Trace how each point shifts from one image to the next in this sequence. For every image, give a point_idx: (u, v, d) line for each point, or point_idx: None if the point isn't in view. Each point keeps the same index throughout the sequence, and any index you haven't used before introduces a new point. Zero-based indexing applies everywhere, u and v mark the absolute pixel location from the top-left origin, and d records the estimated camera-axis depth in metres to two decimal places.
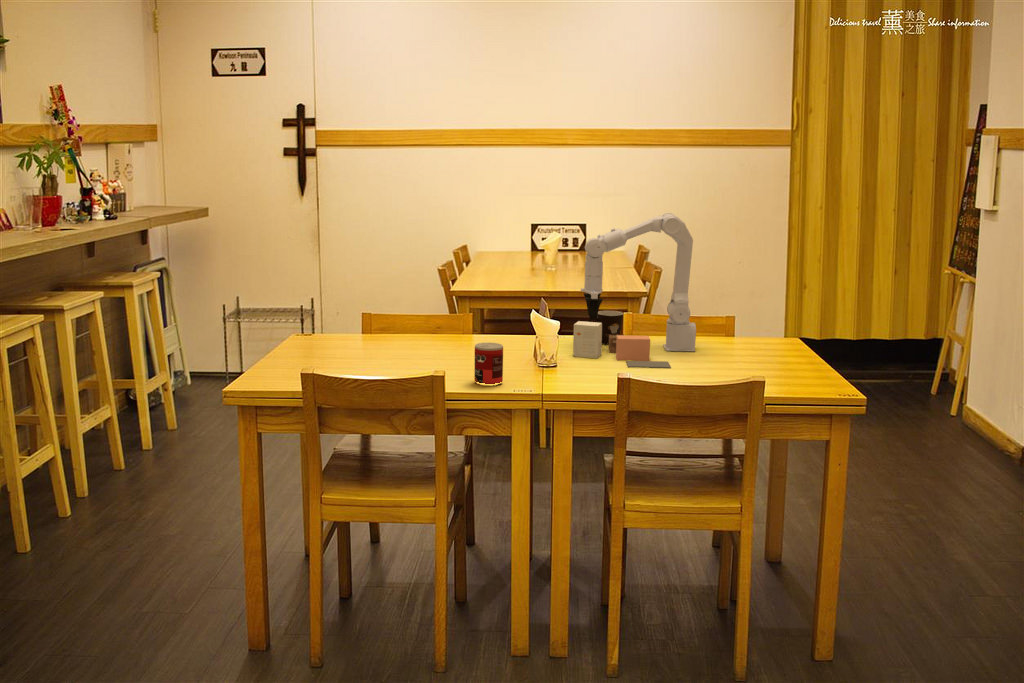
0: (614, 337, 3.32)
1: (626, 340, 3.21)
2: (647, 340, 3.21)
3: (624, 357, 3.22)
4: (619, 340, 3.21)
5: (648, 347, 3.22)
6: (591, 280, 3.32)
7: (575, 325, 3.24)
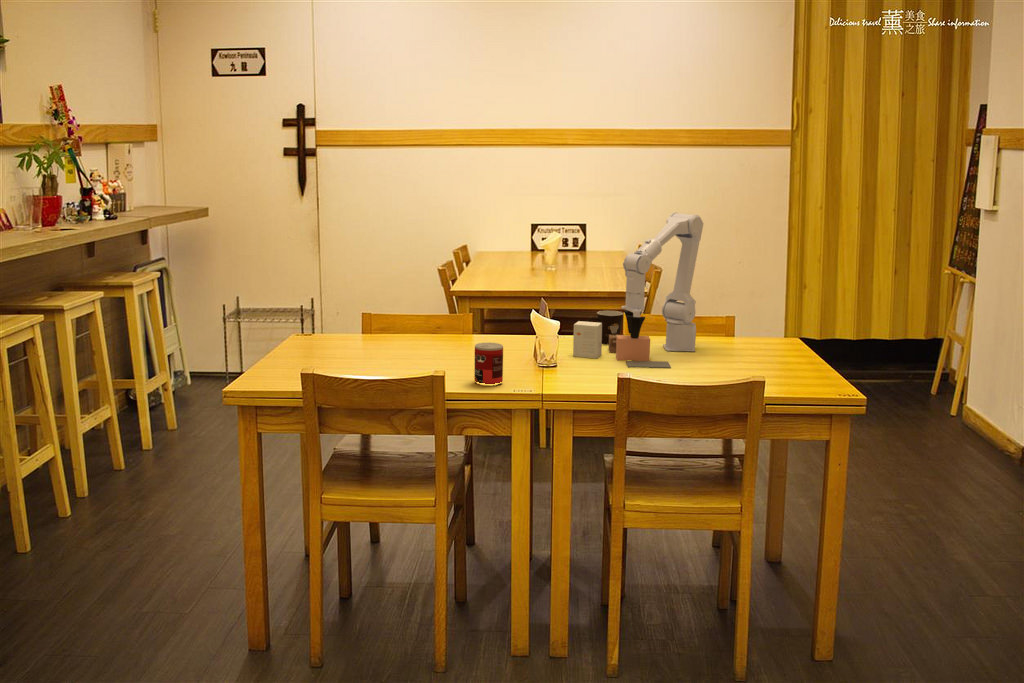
0: (614, 337, 3.32)
1: (626, 340, 3.21)
2: (647, 340, 3.21)
3: (624, 357, 3.22)
4: (619, 340, 3.21)
5: (648, 347, 3.22)
6: (633, 297, 3.18)
7: (575, 325, 3.24)
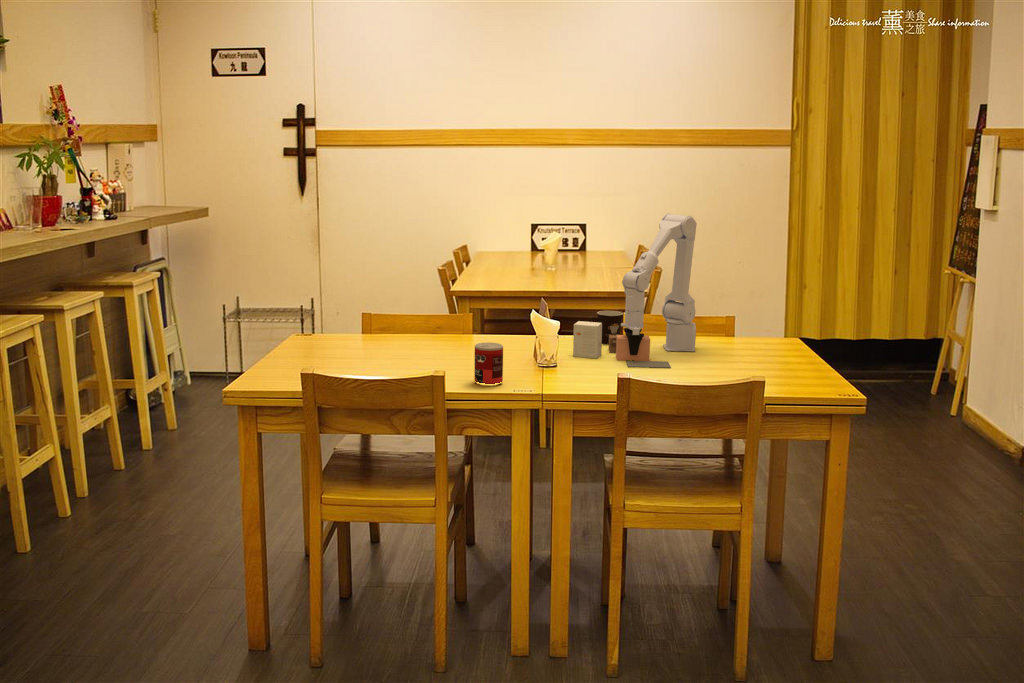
0: (614, 337, 3.32)
1: (626, 340, 3.21)
2: (647, 340, 3.21)
3: (624, 357, 3.22)
4: (619, 340, 3.21)
5: (648, 347, 3.22)
6: (632, 315, 3.19)
7: (575, 325, 3.24)
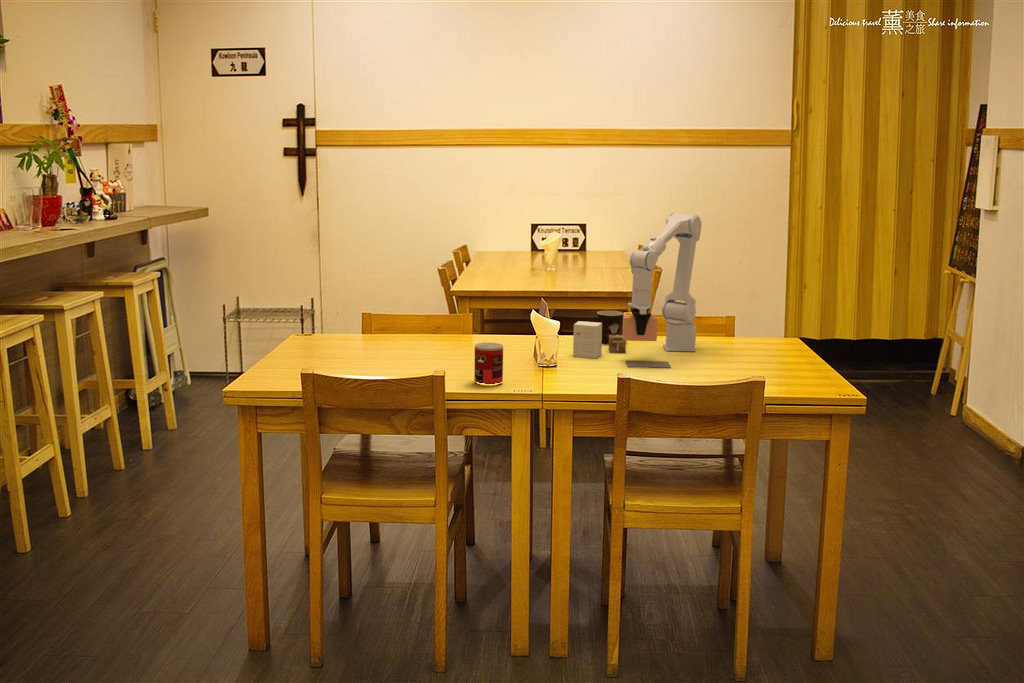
0: (614, 337, 3.32)
1: (633, 319, 3.17)
2: (654, 319, 3.16)
3: (631, 337, 3.18)
4: (626, 319, 3.17)
5: (655, 327, 3.17)
6: (639, 294, 3.15)
7: (575, 325, 3.24)
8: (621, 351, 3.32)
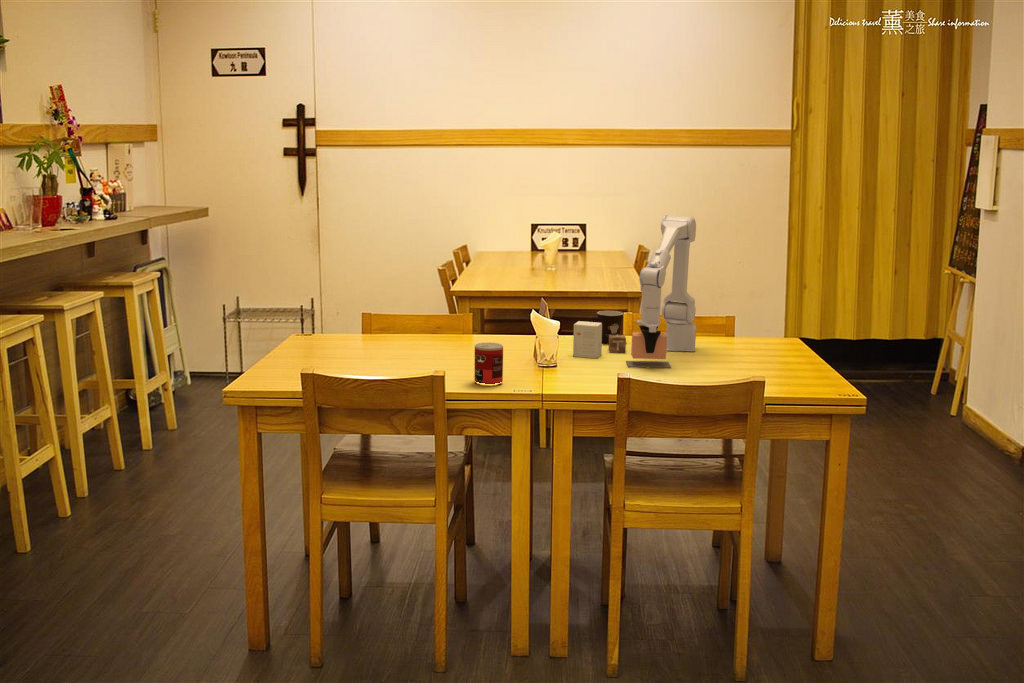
0: (614, 337, 3.32)
1: (642, 337, 3.13)
2: (664, 337, 3.13)
3: (640, 355, 3.14)
4: (635, 337, 3.13)
5: (665, 344, 3.13)
6: (648, 311, 3.11)
7: (575, 325, 3.24)
8: (621, 351, 3.32)
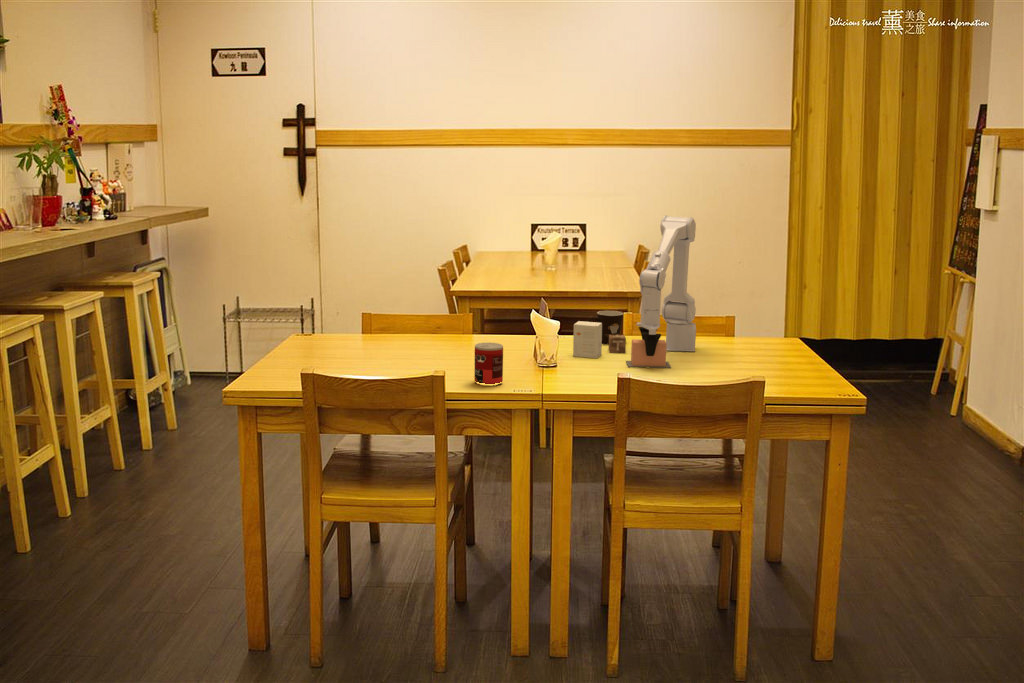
0: (614, 337, 3.32)
1: (642, 344, 3.13)
2: (663, 344, 3.13)
3: (640, 362, 3.14)
4: (635, 344, 3.13)
5: (664, 351, 3.14)
6: (648, 314, 3.11)
7: (575, 325, 3.24)
8: (621, 351, 3.32)
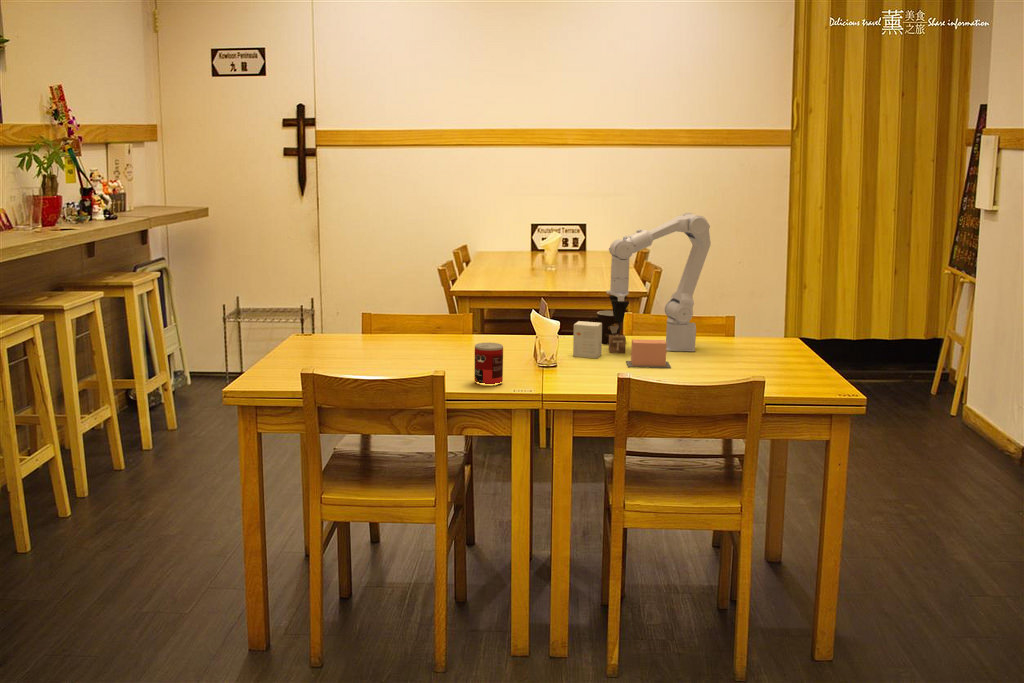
0: (614, 337, 3.32)
1: (642, 344, 3.13)
2: (663, 344, 3.13)
3: (640, 362, 3.14)
4: (635, 344, 3.13)
5: (664, 351, 3.14)
6: (617, 282, 3.27)
7: (575, 325, 3.24)
8: (621, 351, 3.32)
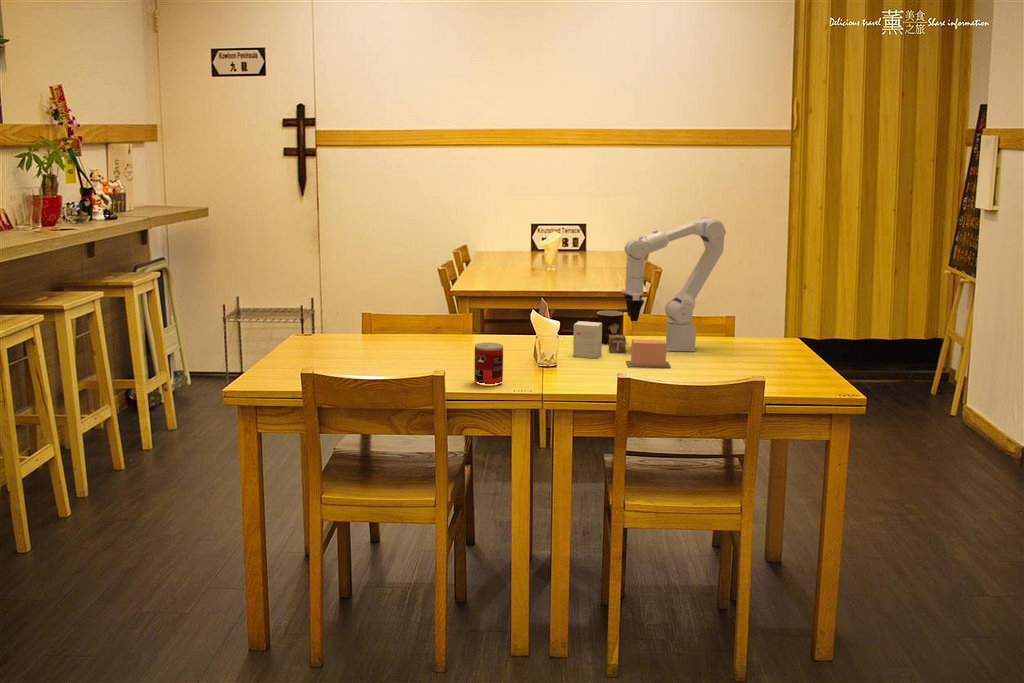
0: (614, 337, 3.32)
1: (642, 344, 3.13)
2: (663, 344, 3.13)
3: (640, 362, 3.14)
4: (635, 344, 3.13)
5: (664, 351, 3.14)
6: (632, 281, 3.29)
7: (575, 325, 3.24)
8: (621, 351, 3.32)
